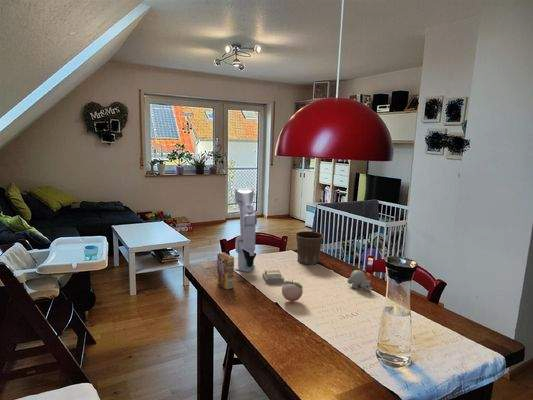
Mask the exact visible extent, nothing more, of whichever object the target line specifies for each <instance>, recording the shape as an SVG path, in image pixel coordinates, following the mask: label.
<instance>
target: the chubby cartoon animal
mask: <svg viewBox="0 0 533 400" xmlns="http://www.w3.org/2000/svg"><path fill="white" fill-rule="evenodd" d="M371 281H372V280H368V279H367V276H366V273H365V272H364V271H363V270H360V269H354V270H352V272H351V273H350V277H349V278H348V279H347V283H348V284H350V285H351V287H352V288H353V289H356V290H357V288H363V290H364V291H365V292H366V293H370V292H371V290H372V288H373V287H372V286H371Z"/></svg>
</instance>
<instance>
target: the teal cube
mask: <svg viewBox="0 0 533 400" xmlns="http://www.w3.org/2000/svg"><path fill="white" fill-rule="evenodd" d="M254 263H255V260H254V261H253V265H252V267H248V266H247V260H246V259H244V268H245V270H249V269H251V270H254V267H255V266H254V265H255V264H254Z"/></svg>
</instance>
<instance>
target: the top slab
mask: <svg viewBox="0 0 533 400" xmlns="http://www.w3.org/2000/svg"><path fill="white" fill-rule="evenodd" d="M264 273H265V275H266V278H267V279H278V278H281V275H282V273H281V271H280V268H277V267H274V268H264Z"/></svg>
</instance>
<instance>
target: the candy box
mask: <svg viewBox="0 0 533 400" xmlns="http://www.w3.org/2000/svg"><path fill="white" fill-rule="evenodd" d="M216 269H217V272H216V274H217V275H216V278H217V280H216V283H217V285H219V286H220V287H222V288H223V289H226V290H230V289H233V288H234V283H235V281H234V280H235V257H234V256H233V255H230V254H228V253H226V252H219V253H217V267H216Z"/></svg>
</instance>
